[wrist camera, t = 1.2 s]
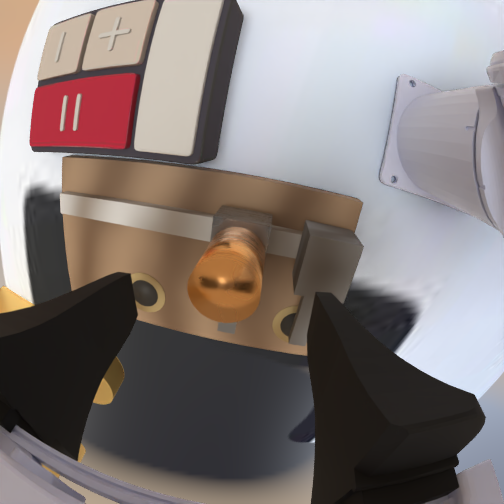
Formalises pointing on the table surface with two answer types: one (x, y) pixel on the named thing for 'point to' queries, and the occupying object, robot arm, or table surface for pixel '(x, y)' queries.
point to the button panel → (138, 80)
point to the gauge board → (206, 241)
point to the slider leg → (231, 267)
